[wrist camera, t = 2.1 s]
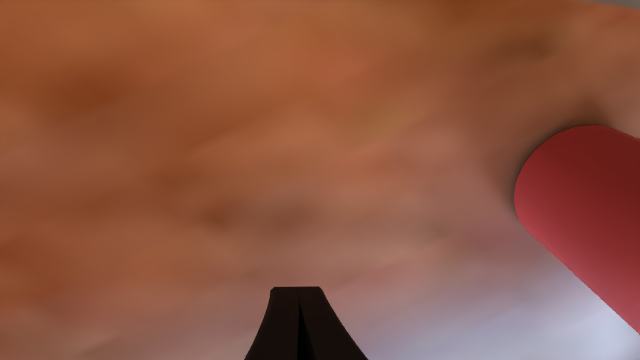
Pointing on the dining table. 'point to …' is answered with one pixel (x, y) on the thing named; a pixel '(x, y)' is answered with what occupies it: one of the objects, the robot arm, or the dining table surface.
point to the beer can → (588, 210)
